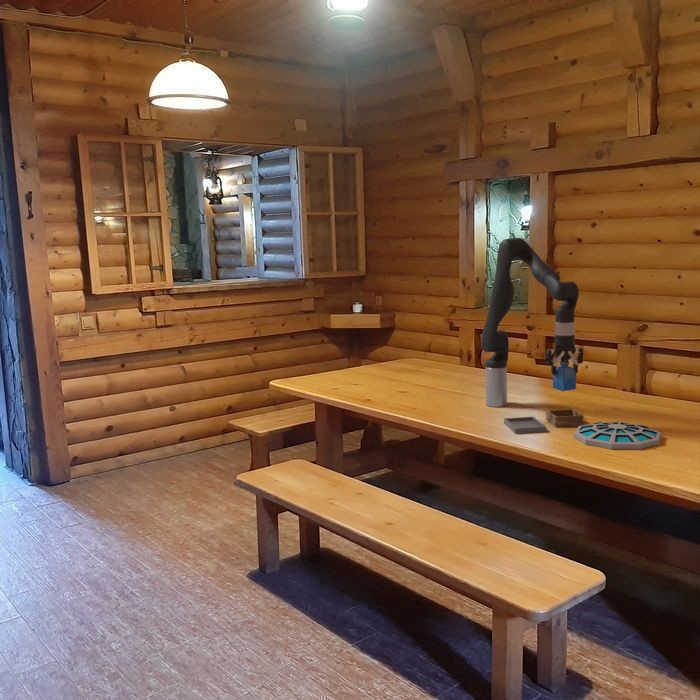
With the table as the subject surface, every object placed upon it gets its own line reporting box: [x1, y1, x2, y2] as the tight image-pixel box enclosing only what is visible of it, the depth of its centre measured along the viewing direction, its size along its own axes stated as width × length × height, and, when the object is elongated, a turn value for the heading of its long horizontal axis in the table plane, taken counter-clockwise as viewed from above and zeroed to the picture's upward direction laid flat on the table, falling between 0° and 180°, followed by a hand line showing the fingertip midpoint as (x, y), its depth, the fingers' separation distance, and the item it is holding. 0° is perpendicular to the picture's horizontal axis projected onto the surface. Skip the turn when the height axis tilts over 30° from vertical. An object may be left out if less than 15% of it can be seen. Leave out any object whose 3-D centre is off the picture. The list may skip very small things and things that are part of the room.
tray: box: [503, 416, 547, 435], centre depth 284 cm, size 16×12×2 cm
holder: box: [545, 408, 585, 428], centre depth 288 cm, size 11×11×4 cm
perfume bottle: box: [552, 359, 577, 392], centre depth 285 cm, size 6×6×12 cm
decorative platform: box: [573, 421, 663, 450], centre depth 265 cm, size 31×29×5 cm
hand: (564, 374), depth 285 cm, fingers closed on perfume bottle, 7 cm apart
